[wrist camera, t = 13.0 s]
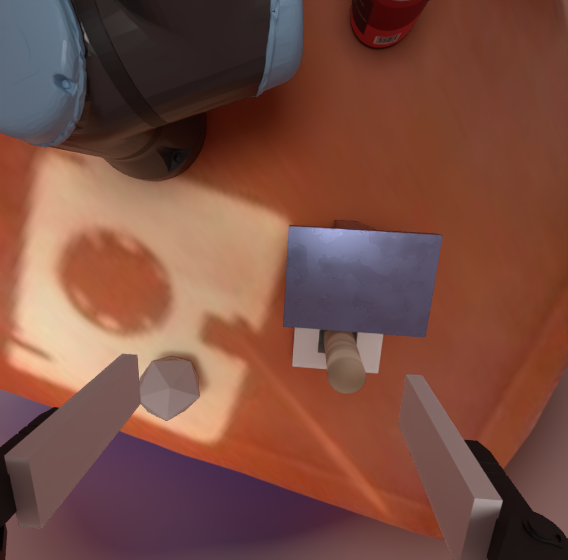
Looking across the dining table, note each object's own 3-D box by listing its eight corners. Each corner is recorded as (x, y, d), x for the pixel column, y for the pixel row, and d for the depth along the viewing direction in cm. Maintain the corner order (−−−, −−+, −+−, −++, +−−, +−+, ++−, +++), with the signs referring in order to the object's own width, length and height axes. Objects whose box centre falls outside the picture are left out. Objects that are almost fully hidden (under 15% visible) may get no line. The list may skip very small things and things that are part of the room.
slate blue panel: (290, 287, 48) (283, 326, 33) (295, 217, 46) (288, 226, 31) (388, 293, 47) (425, 337, 32) (397, 223, 45) (442, 235, 30)
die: (197, 339, 52) (134, 355, 44) (222, 390, 49) (159, 417, 41) (176, 364, 57) (116, 382, 49) (198, 412, 54) (137, 440, 46)
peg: (323, 313, 48) (329, 358, 35) (351, 315, 48) (368, 361, 34) (321, 338, 49) (326, 391, 36) (348, 341, 49) (363, 395, 35)
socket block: (293, 353, 51) (292, 366, 47) (299, 264, 47) (298, 269, 43) (372, 359, 50) (378, 373, 46) (384, 269, 47) (391, 275, 43)
